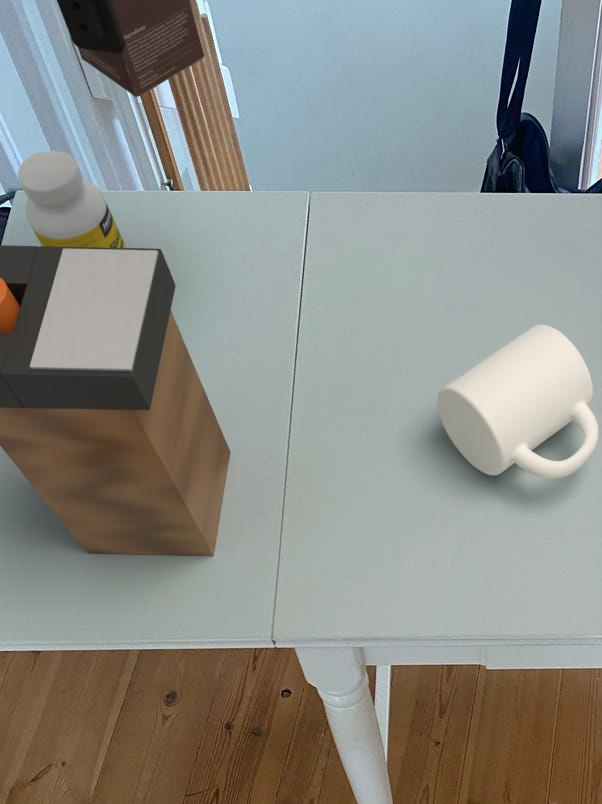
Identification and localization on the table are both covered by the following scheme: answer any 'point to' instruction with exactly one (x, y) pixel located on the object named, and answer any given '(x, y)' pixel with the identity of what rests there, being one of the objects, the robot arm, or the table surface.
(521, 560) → the table surface
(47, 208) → the pill bottle
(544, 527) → the table surface
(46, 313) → the scale
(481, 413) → the mug
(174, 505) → the block
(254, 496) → the table surface
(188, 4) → the box
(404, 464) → the table surface
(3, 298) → the button
